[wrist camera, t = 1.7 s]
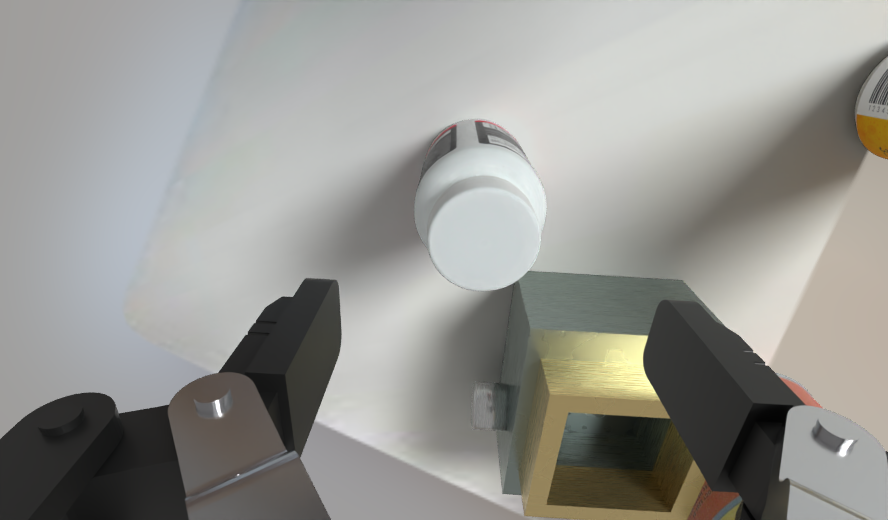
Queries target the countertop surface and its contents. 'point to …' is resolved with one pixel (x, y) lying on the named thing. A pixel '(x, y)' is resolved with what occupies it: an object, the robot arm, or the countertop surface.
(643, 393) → the gold grey hollow block
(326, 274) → the countertop surface
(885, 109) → the beer can
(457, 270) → the pill bottle
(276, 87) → the countertop surface
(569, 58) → the countertop surface
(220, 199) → the countertop surface
